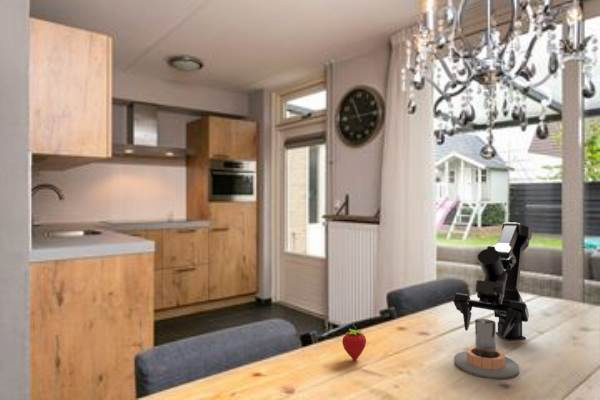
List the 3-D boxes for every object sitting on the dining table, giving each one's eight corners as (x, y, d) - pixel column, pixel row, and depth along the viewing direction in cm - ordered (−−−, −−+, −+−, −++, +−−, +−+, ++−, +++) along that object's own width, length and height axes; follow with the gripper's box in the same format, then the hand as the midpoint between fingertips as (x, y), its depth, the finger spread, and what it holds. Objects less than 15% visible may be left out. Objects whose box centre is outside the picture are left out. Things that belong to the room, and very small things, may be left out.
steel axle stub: (481, 356, 110) (481, 317, 110) (499, 362, 106) (499, 322, 106) (472, 361, 107) (471, 321, 107) (489, 367, 103) (489, 325, 103)
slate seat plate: (493, 352, 115) (493, 340, 115) (533, 376, 100) (533, 362, 100) (443, 356, 113) (442, 344, 113) (476, 381, 97) (476, 367, 97)
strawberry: (337, 360, 111) (337, 325, 111) (356, 353, 116) (355, 319, 116) (352, 366, 106) (352, 330, 106) (371, 359, 111) (370, 324, 111)
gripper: (454, 265, 115) (441, 311, 107) (526, 272, 103) (517, 324, 95) (463, 287, 121) (451, 332, 113) (532, 296, 109) (524, 347, 101)
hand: (483, 333), depth 105 cm, fingers open, 9 cm apart
